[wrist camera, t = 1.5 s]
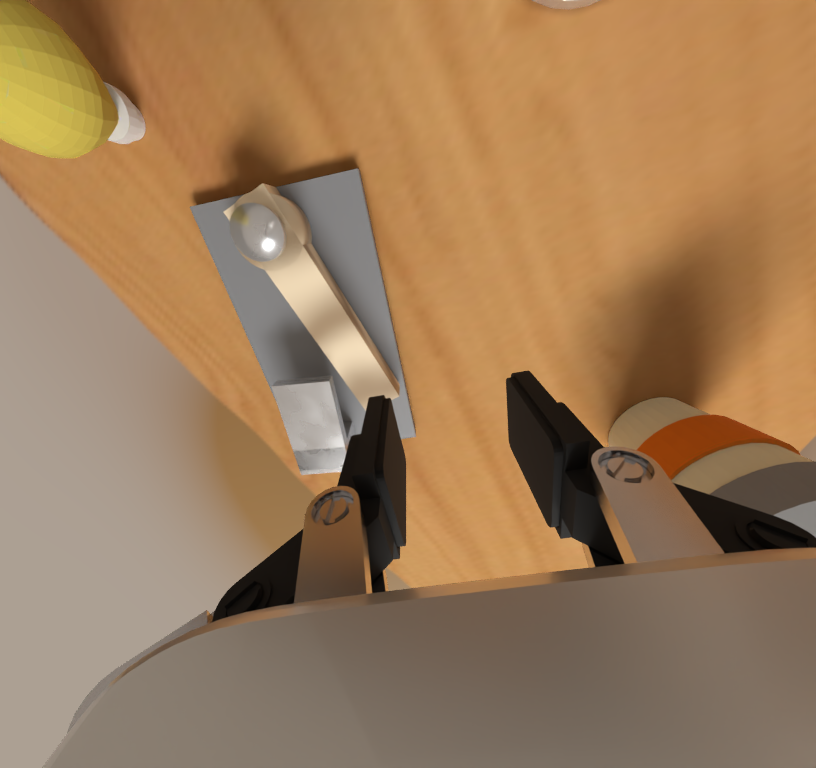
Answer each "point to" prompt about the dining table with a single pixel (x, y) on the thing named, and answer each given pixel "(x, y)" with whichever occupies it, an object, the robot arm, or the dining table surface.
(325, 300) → the arm link
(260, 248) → the pin cap
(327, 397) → the block
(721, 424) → the reusable coffee cup
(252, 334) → the base board
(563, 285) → the dining table surface
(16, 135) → the light bulb
